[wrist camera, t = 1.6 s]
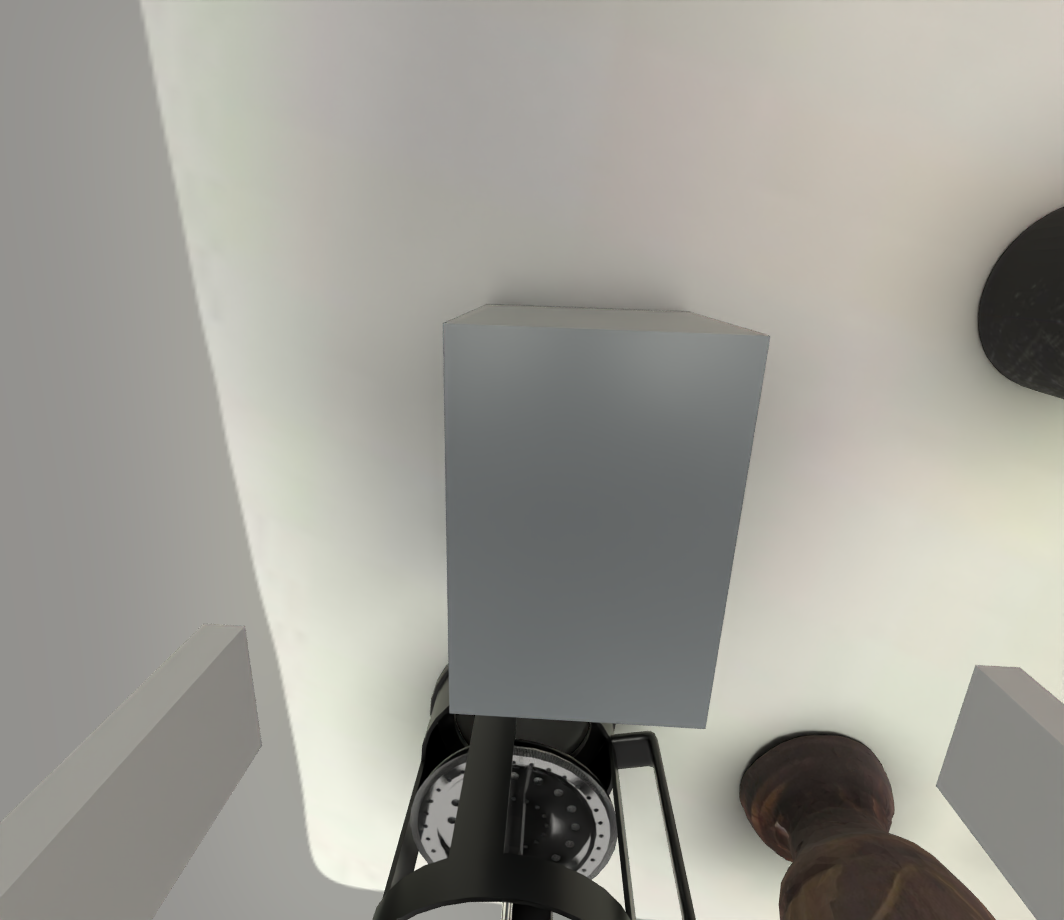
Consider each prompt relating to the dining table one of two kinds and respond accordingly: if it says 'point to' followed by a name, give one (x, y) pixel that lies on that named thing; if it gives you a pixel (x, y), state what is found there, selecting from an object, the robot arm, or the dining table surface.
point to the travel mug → (1028, 308)
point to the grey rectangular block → (593, 508)
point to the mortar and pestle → (845, 838)
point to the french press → (520, 822)
